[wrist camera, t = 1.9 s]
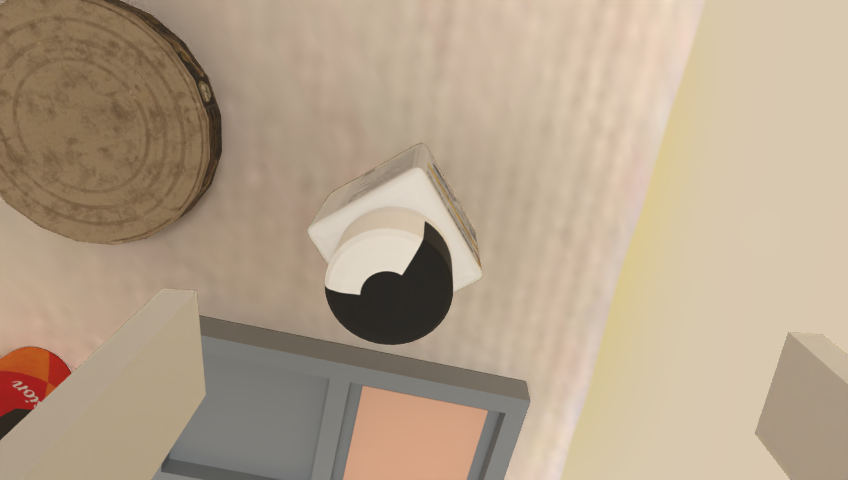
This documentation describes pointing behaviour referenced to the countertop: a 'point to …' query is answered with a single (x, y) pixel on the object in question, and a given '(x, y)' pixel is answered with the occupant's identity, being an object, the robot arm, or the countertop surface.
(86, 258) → the countertop surface
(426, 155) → the container
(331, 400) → the two-bay tray
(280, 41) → the countertop surface
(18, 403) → the paper cup
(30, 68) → the brown disc
